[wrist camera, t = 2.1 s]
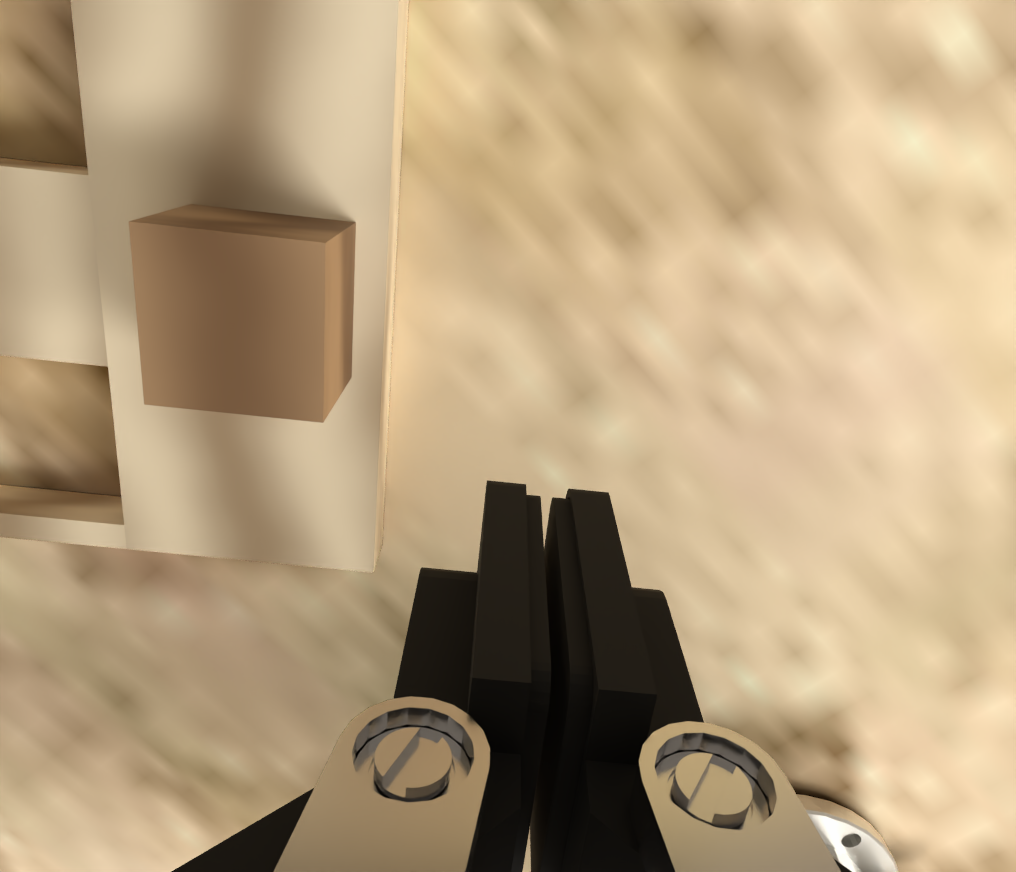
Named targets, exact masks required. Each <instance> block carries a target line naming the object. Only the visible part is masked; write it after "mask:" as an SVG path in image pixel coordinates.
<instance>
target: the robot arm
mask: <svg viewBox="0 0 1016 872" xmlns="http://www.w3.org/2000/svg"><path fill="white" fill-rule="evenodd" d="M529 827H530V844H531V872H899V871H898V868H897V865H896V862H895V860H894V858H893V856H892V854H891V852H890V850H889V849H888V847H887V845H886V843H885V841H884V839H883V837H882V836H881V835H880V834H879V833H878V832H877V831H876V830H875V829H874V827H873V826H872V825H871V824H870V823H869V822H868V821H866V820H865V819H863V818H862V817H860V816H859V815H857V814H856V813H854V812H853V811H852V810H849V809H847V808H845V807H842V806H840V805H838V804H836V803H833V802H831V801H828V800H823V799H819V798H815V797H811V796H807V795H799V794H796V793H795V791H794V789H793V787H792V786H791V784H790V782H789V781H788V779H787V777H786V775H785V774H784V773H783V771H782V770H781V769H780V767H779V766H778V765H777V764H776V762H775V761H774V760H773V758H772V757H771V756H770V755H768V754H767V753H766V752H765V751H764V750H762V749H761V748H760V747H759V746H758V745H756V744H755V743H754V742H753V741H751V740H749V739H747V738H745V737H744V736H742V735H740V734H738V733H736V732H734V731H733V730H730V729H727V728H723V727H720V726H717V725H714V724H711V723H704V721H703V718H702V715H701V712H700V708H699V705H698V702H697V699H696V695H695V692H694V689H693V685H692V682H691V679H690V676H689V672H688V669H687V666H686V663H685V659H684V656H683V653H682V649H681V646H680V643H679V640H678V636H677V633H676V630H675V627H674V623H673V620H672V617H671V613H670V610H669V607H668V604H667V600H666V598H665V596H664V593H663V592H662V591H660V590H653V589H642V588H632V587H631V583H630V579H629V574H628V570H627V566H626V562H625V558H624V554H623V550H622V545H621V541H620V537H619V533H618V529H617V525H616V520H615V516H614V512H613V508H612V504H611V500H610V496H609V493H607V492H596V491H586V490H576V489H568V491H567V495H566V499H563V498H552V501H551V506H550V513H549V520H548V527H547V533H546V540H545V547H544V544H543V528H542V512H541V498H540V496H533V495H526V484H516V483H506V482H496V481H487V485H486V494H485V504H484V513H483V523H482V532H481V541H480V551H479V560H478V570H477V573H474V572H464V571H453V570H443V569H432V568H421V570H420V574H419V578H418V583H417V588H416V593H415V598H414V603H413V607H412V612H411V617H410V622H409V627H408V632H407V636H406V641H405V646H404V651H403V656H402V661H401V665H400V670H399V675H398V680H397V685H396V689H395V694H394V699H389V700H386V701H384V702H381V703H379V704H376V705H373V706H371V707H368V708H367V709H366V710H364V711H363V712H362V713H360V714H359V715H357V716H356V717H355V718H353V719H352V720H351V721H350V723H349V724H348V725H347V727H346V728H345V729H344V731H343V732H342V734H341V735H340V737H339V739H338V741H337V743H336V745H335V747H334V749H333V751H332V753H331V755H330V757H329V759H328V761H327V763H326V765H325V767H324V769H323V771H322V773H321V775H320V778H319V780H318V782H317V784H316V786H315V788H313V789H311V790H310V791H308V792H306V793H305V794H303V795H301V796H300V797H298V798H296V799H294V800H293V801H291V802H289V803H288V804H286V805H284V806H283V807H281V808H279V809H277V810H276V811H274V812H272V813H271V814H269V815H267V816H265V817H264V818H262V819H260V820H259V821H257V822H255V823H254V824H252V825H250V826H248V827H247V828H245V829H243V830H242V831H240V832H238V833H237V834H235V835H233V836H231V837H230V838H228V839H226V840H225V841H223V842H221V843H220V844H218V845H216V846H214V847H213V848H211V849H209V850H208V851H206V852H204V853H202V854H201V855H199V856H197V857H196V858H194V859H192V860H191V861H189V862H187V863H185V864H184V865H182V866H180V867H179V868H177V869H175V870H174V871H172V872H522V870H523V864H524V858H525V852H526V846H527V839H528V833H529Z"/></svg>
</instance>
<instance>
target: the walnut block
mask: <svg viewBox="0 0 1016 872" xmlns="http://www.w3.org/2000/svg"><path fill="white" fill-rule="evenodd" d="M129 233H130V245H131V256H132V268H133V280H134V292H135V303H136V315H137V327H138V339H139V350H140V362H141V374H142V386H143V397H144V405H153V406H163V407H173V408H182V409H192V410H202V411H212V412H222V413H231V414H241V415H251V416H261V417H271V418H280V419H290V420H300V421H310V422H320V423H323V422H324V421H325V419H326V418H327V416H328V414H329V413H330V411H331V410H332V408H333V407H334V405H335V403H336V402H337V400H338V399H339V397H340V395H341V394H342V392H343V391H344V389H345V387H346V386H347V384H348V383H349V381H350V379H351V378H352V347H353V311H354V274H355V238H356V222H349V221H340V220H331V219H322V218H313V217H304V216H295V215H286V214H277V213H268V212H258V211H249V210H240V209H231V208H222V207H213V206H204V205H195V204H189V205H185V206H182V207H178V208H174V209H171V210H167V211H164V212H160V213H157V214H153V215H149V216H146V217H142V218H139V219H135V220H132V221H129Z"/></svg>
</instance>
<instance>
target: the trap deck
mask: <svg viewBox="0 0 1016 872" xmlns="http://www.w3.org/2000/svg"><path fill="white" fill-rule="evenodd" d="M70 1H71V11H72V21H73V31H74V40H75V50H76V60H77V70H78V79H79V89H80V99H81V109H82V118H83V128H84V138H85V148H86V157H87V167H81V166H72V165H63V164H54V163H45V162H36V161H27V160H18V159H9V158H0V355H1V356H10V357H20V358H30V359H39V360H49V361H59V362H68V363H78V364H88V365H97V366H107V367H108V372H109V381H110V391H111V401H112V411H113V420H114V430H115V440H116V450H117V459H118V469H119V479H120V489H121V497H120V496H110V495H99V494H89V493H79V492H69V491H59V490H49V489H38V488H28V487H18V486H8V485H0V537H6V538H16V539H26V540H37V541H47V542H58V543H68V544H78V545H89V546H99V547H110V548H120V549H130V550H141V551H151V552H162V553H172V554H182V555H193V556H203V557H213V558H224V559H234V560H245V561H255V562H265V563H276V564H286V565H297V566H307V567H317V568H328V569H338V570H349V571H359V572H369V573H374V570H375V567H376V563H377V560H378V557H379V554H380V551H381V547H382V542H383V521H384V501H385V480H386V459H387V439H388V418H389V397H390V377H391V356H392V336H393V315H394V294H395V274H396V253H397V232H398V212H399V191H400V170H401V150H402V129H403V108H404V88H405V67H406V47H407V26H408V5H409V0H70ZM189 204H195V205H204V206H213V207H222V208H231V209H240V210H249V211H258V212H268V213H277V214H286V215H295V216H304V217H313V218H322V219H331V220H340V221H349V222H356V238H355V274H354V311H353V347H352V378H351V379H350V381H349V383H348V384H347V386H346V387H345V389H344V391H343V392H342V394H341V395H340V397H339V399H338V400H337V402H336V403H335V405H334V407H333V408H332V410H331V411H330V413H329V414H328V416H327V418H326V419H325V421H324V422H323V423H320V422H310V421H300V420H290V419H280V418H271V417H261V416H251V415H241V414H231V413H222V412H212V411H202V410H192V409H182V408H173V407H163V406H153V405H144V397H143V386H142V374H141V362H140V350H139V339H138V327H137V315H136V303H135V292H134V280H133V268H132V256H131V245H130V233H129V221H132V220H135V219H139V218H142V217H146V216H149V215H153V214H157V213H160V212H164V211H167V210H171V209H174V208H178V207H182V206H185V205H189Z"/></svg>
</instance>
